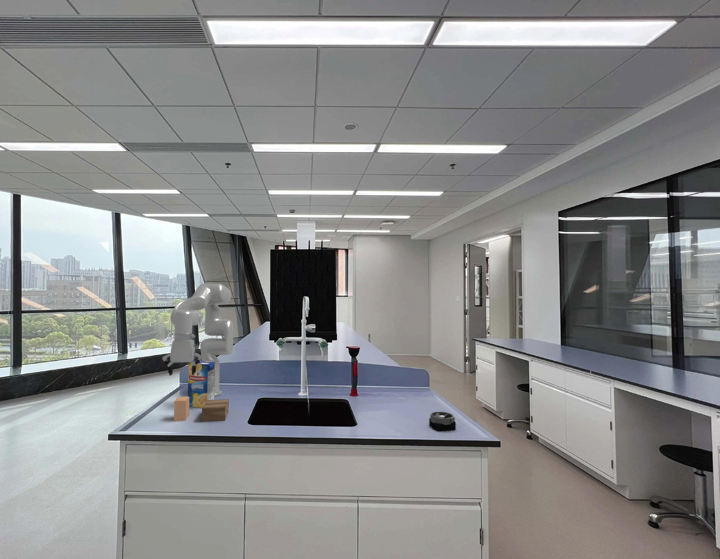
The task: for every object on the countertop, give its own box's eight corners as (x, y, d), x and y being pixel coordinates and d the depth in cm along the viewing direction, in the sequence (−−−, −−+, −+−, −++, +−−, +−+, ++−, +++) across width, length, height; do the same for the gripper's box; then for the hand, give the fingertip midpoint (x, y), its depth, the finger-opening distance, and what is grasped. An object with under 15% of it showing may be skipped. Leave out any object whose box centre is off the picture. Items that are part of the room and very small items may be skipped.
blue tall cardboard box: (207, 408, 201) (207, 364, 202) (187, 406, 203) (188, 363, 204) (214, 404, 208) (215, 361, 208) (195, 402, 210) (196, 360, 210)
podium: (207, 412, 194) (207, 400, 194) (228, 411, 196) (228, 399, 196) (201, 421, 180) (202, 408, 180) (224, 420, 182) (225, 407, 182)
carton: (177, 416, 188) (178, 397, 188) (189, 415, 189) (189, 396, 189) (173, 421, 181) (174, 401, 181) (185, 420, 182) (186, 400, 182)
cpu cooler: (426, 412, 180) (447, 410, 182) (426, 424, 180) (447, 423, 182) (437, 419, 170) (458, 417, 172) (436, 432, 170) (458, 430, 172)
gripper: (204, 336, 191) (203, 372, 190) (165, 336, 188) (164, 373, 187) (201, 338, 184) (200, 375, 183) (160, 338, 180) (159, 376, 179)
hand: (182, 374), depth 185 cm, fingers open, 9 cm apart
